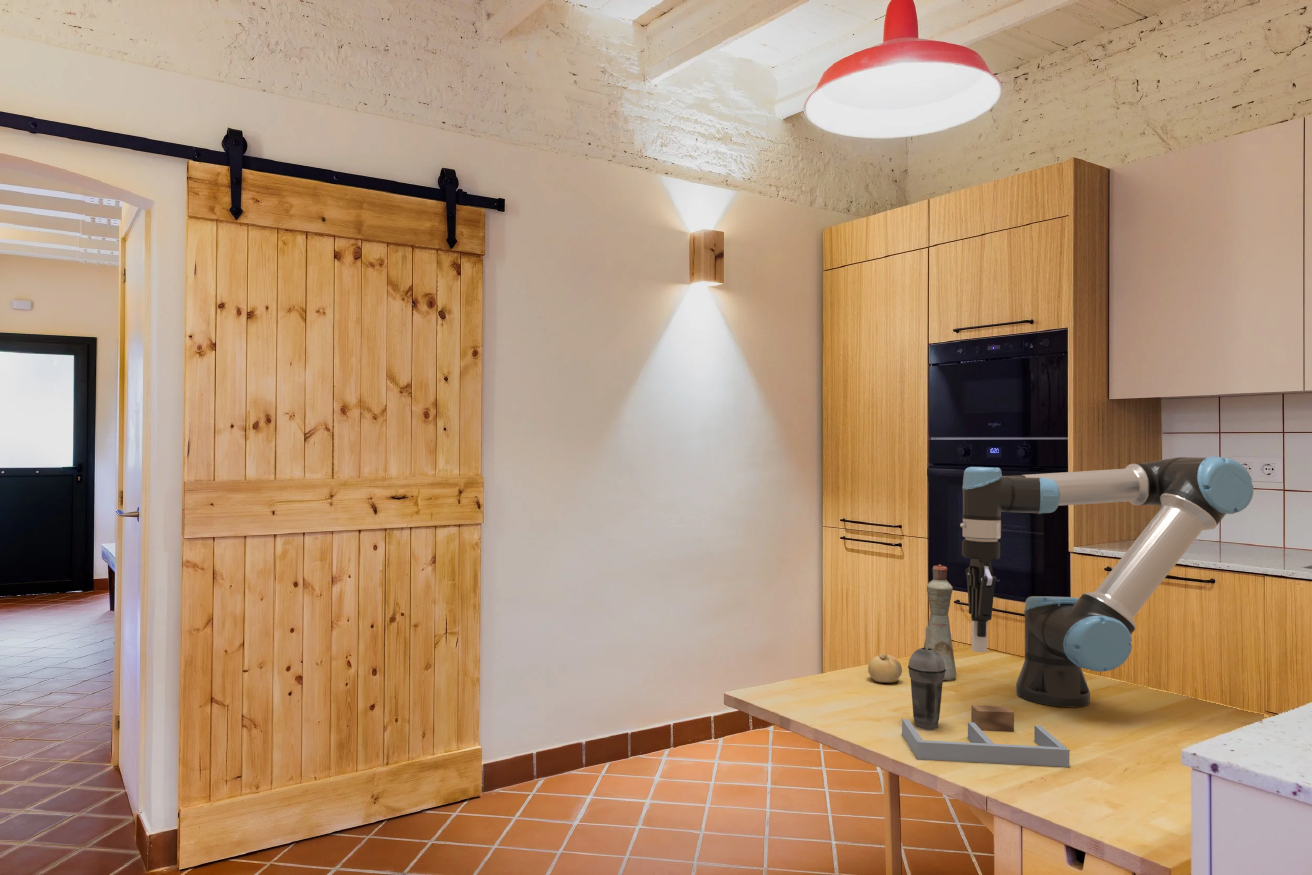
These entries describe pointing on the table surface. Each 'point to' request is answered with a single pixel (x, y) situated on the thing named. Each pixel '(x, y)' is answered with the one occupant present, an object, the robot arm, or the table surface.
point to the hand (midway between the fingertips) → (979, 651)
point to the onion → (884, 668)
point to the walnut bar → (993, 718)
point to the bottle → (940, 619)
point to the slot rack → (989, 748)
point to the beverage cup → (926, 686)
